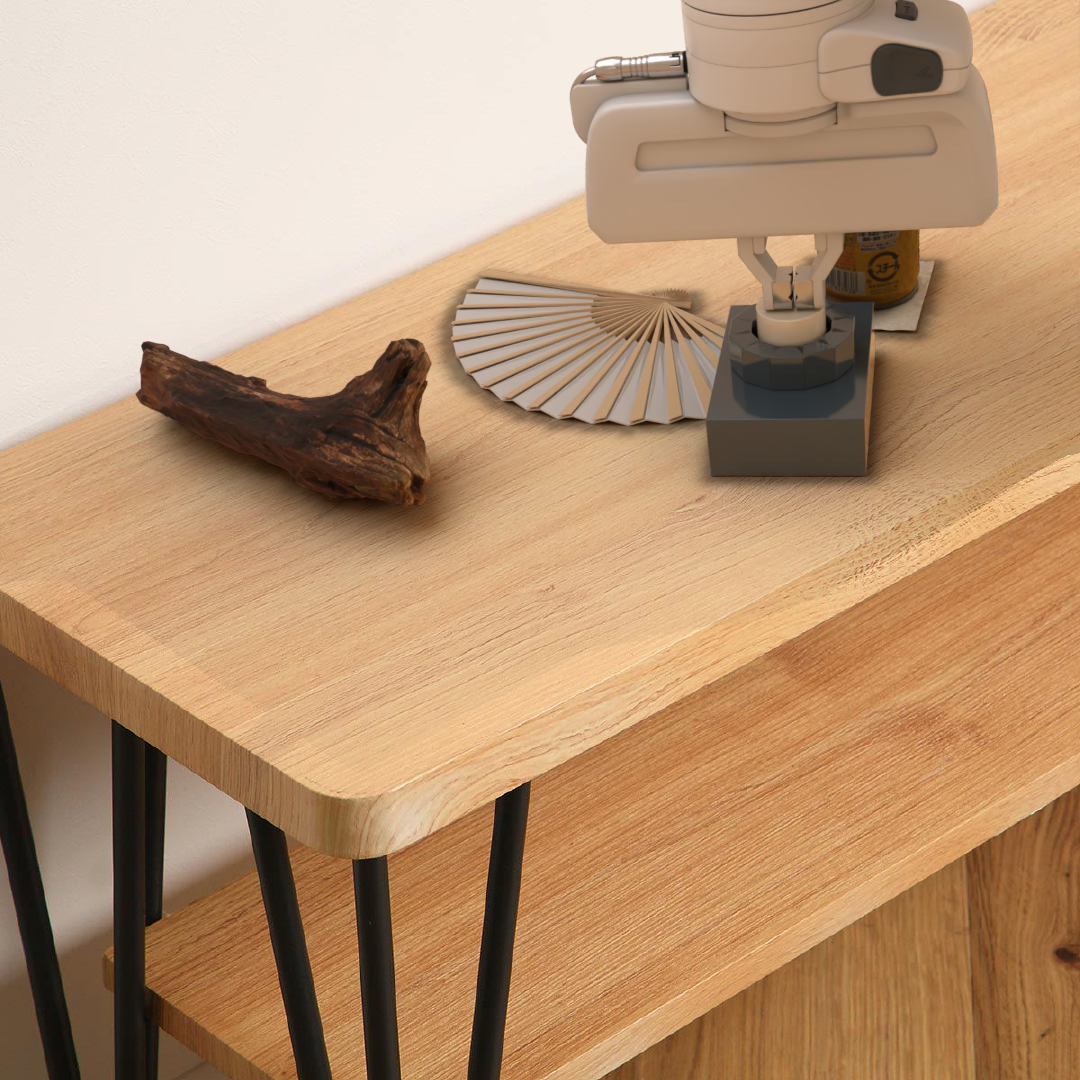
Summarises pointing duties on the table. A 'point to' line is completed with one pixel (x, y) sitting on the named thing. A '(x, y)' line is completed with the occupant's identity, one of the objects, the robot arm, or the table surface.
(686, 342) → the hand fan
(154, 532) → the table surface
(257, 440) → the driftwood
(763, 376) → the grey socket base
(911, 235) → the condiment
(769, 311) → the cream cylinder plug
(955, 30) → the robot arm
